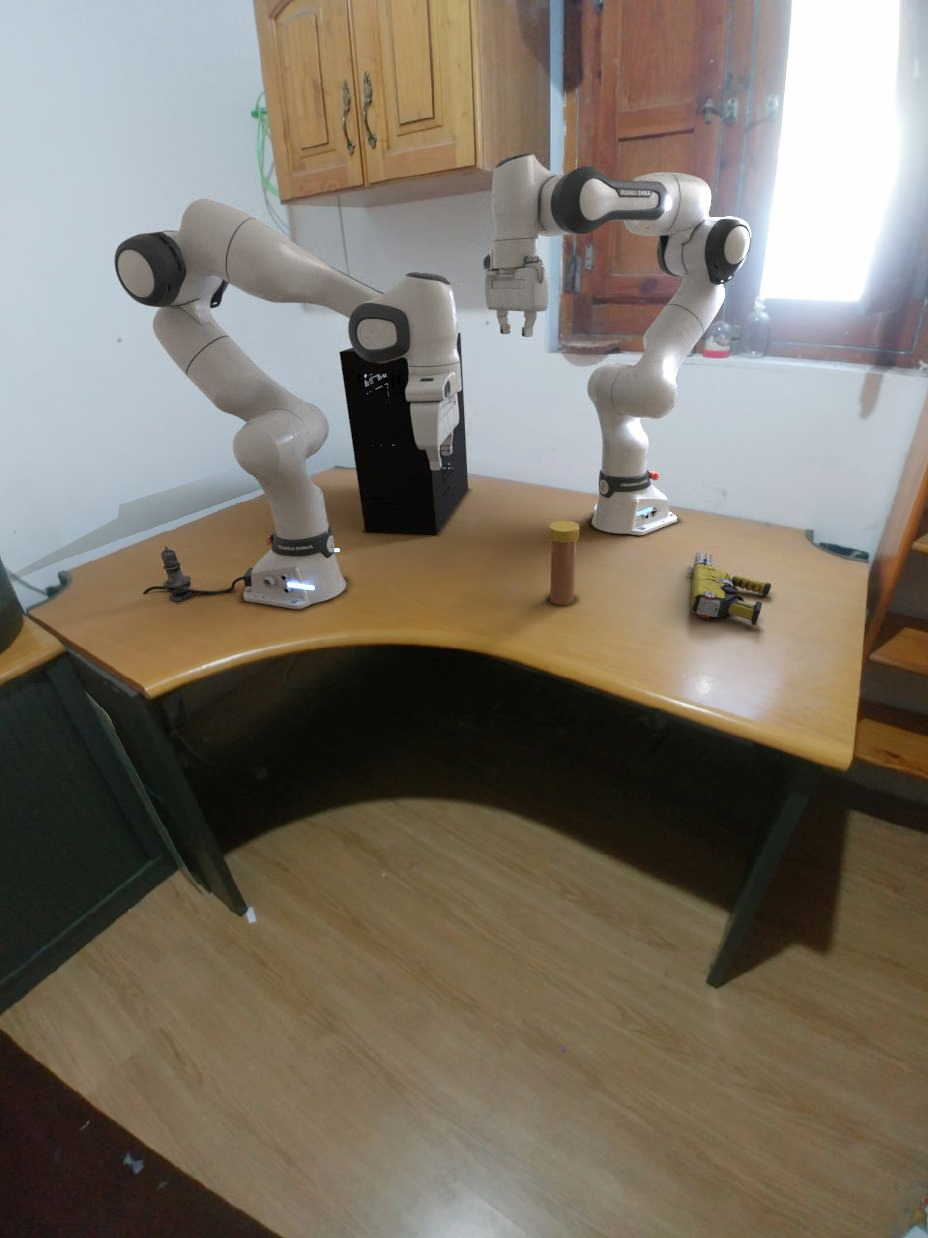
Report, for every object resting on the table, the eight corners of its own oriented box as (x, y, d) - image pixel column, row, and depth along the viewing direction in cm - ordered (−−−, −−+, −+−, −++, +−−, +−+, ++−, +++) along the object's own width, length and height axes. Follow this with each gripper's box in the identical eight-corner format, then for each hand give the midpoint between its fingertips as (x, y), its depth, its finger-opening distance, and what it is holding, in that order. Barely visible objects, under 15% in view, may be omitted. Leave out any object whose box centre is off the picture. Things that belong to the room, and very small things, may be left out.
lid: (581, 532, 120) (581, 521, 119) (576, 544, 115) (576, 532, 114) (552, 530, 121) (552, 519, 120) (546, 541, 117) (546, 530, 116)
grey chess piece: (185, 602, 132) (169, 552, 126) (162, 601, 134) (144, 551, 128) (200, 590, 137) (185, 541, 131) (177, 588, 139) (162, 540, 133)
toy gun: (769, 561, 128) (696, 549, 132) (782, 610, 108) (695, 594, 112) (763, 581, 130) (691, 569, 134) (774, 633, 110) (689, 616, 114)
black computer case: (436, 534, 159) (422, 349, 137) (364, 531, 164) (339, 351, 141) (468, 489, 191) (460, 332, 168) (407, 487, 195) (391, 335, 173)
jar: (575, 595, 126) (578, 524, 119) (571, 606, 122) (574, 533, 115) (552, 592, 128) (554, 522, 120) (547, 603, 124) (549, 531, 116)
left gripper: (431, 372, 112) (437, 447, 119) (402, 392, 95) (411, 478, 102) (464, 371, 111) (468, 446, 118) (441, 391, 94) (447, 478, 101)
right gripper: (557, 254, 111) (556, 336, 118) (505, 258, 127) (506, 331, 134) (528, 255, 109) (527, 339, 116) (478, 260, 125) (481, 333, 132)
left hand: (441, 461), depth 110 cm, fingers open, 8 cm apart
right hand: (516, 335), depth 125 cm, fingers open, 8 cm apart
